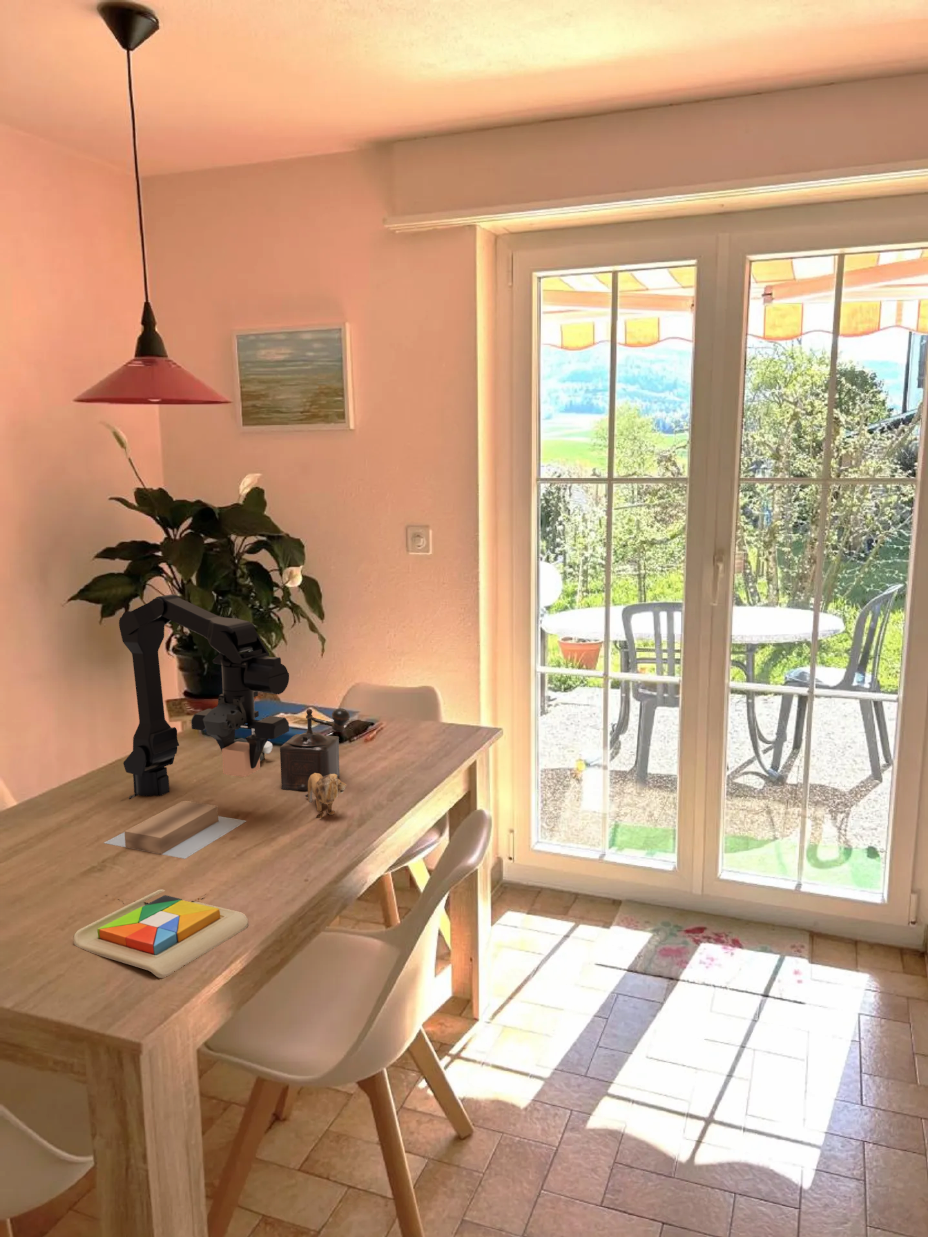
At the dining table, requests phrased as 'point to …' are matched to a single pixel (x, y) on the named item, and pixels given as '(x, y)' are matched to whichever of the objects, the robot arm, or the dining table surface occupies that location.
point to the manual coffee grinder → (311, 753)
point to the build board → (192, 838)
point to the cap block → (238, 760)
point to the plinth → (171, 827)
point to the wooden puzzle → (160, 933)
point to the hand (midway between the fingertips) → (241, 766)
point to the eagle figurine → (266, 750)
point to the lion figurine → (324, 790)
